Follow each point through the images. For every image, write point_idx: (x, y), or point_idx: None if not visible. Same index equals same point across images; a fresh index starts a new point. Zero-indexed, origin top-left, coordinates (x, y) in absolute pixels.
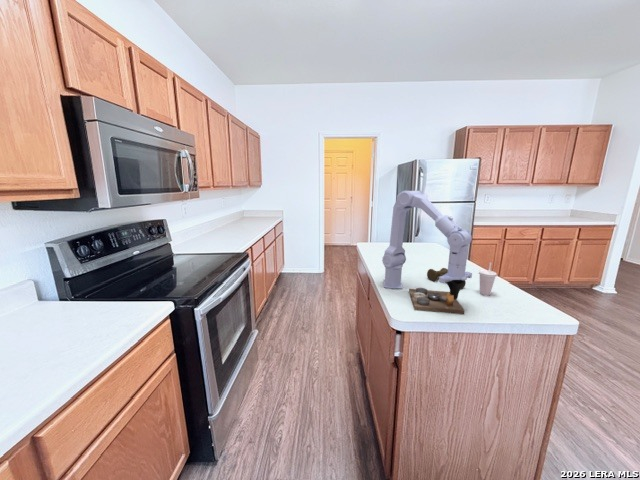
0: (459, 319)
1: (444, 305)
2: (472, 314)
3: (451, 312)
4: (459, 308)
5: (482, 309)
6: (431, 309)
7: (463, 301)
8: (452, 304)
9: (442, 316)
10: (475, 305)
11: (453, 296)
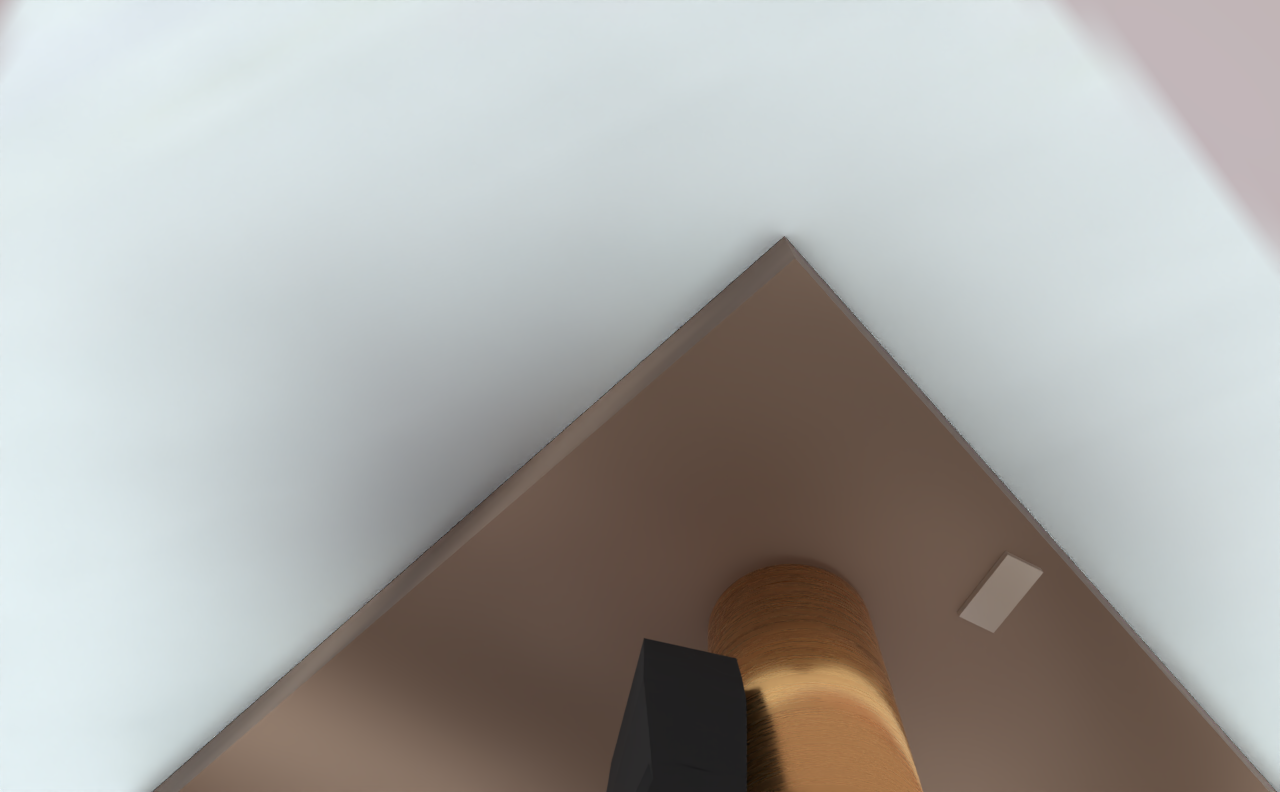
0: (1146, 178)
1: (904, 672)
2: (608, 115)
3: (971, 447)
4: (780, 398)
5: (119, 98)
6: (1228, 742)
7: (156, 549)
8: (804, 583)
9: (1273, 480)
10: (83, 305)
11: (840, 756)
